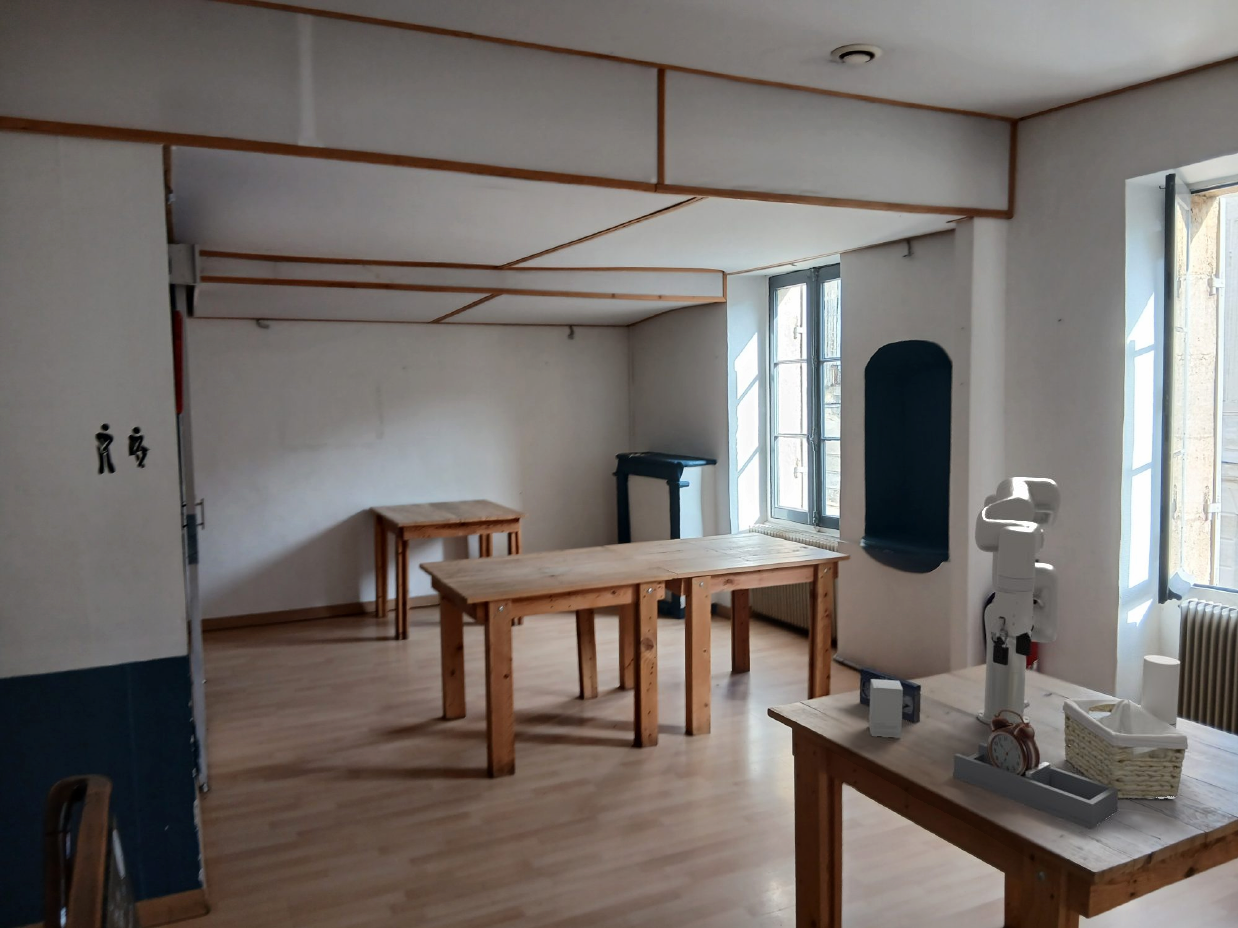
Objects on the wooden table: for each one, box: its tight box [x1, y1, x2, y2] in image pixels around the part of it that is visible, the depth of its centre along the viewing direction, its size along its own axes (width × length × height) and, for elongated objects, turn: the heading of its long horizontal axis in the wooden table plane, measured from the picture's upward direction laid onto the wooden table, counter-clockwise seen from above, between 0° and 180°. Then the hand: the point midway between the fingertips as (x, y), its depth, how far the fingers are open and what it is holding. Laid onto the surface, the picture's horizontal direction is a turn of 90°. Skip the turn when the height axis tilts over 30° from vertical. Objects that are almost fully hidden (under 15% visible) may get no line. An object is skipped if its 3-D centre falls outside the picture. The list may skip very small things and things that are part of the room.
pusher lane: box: [952, 742, 1119, 830], centre depth 190 cm, size 12×30×5 cm, turn 38°
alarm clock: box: [986, 710, 1041, 777], centre depth 194 cm, size 11×5×15 cm, turn 26°
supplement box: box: [868, 679, 903, 739], centre depth 224 cm, size 7×7×13 cm
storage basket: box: [1062, 698, 1189, 800], centre depth 198 cm, size 24×16×15 cm
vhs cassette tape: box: [859, 667, 922, 724], centre depth 238 cm, size 18×3×10 cm, turn 33°
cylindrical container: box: [1140, 654, 1181, 729], centre depth 205 cm, size 7×7×25 cm
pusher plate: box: [1026, 761, 1051, 786], centre depth 189 cm, size 8×1×5 cm, turn 128°
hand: (1011, 659), depth 195 cm, fingers open, 9 cm apart
